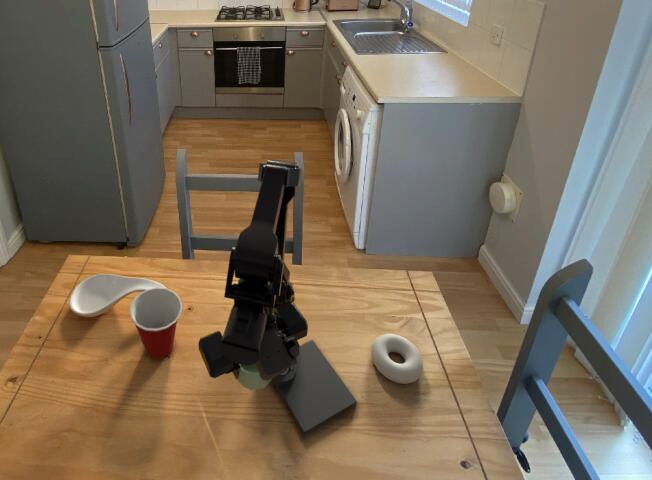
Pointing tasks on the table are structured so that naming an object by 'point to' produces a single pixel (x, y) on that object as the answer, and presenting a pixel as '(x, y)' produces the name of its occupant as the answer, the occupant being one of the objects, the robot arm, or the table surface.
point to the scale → (313, 390)
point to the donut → (391, 369)
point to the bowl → (251, 377)
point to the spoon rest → (105, 293)
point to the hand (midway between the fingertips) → (253, 368)
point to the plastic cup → (156, 319)
